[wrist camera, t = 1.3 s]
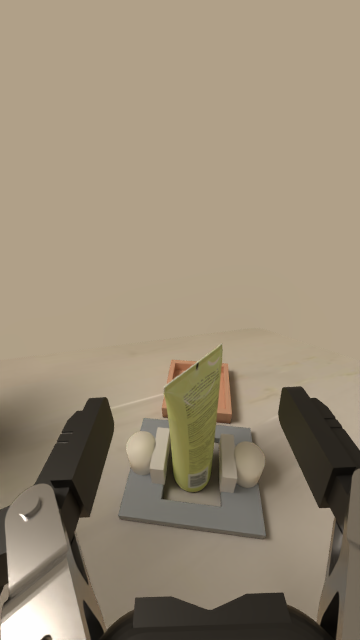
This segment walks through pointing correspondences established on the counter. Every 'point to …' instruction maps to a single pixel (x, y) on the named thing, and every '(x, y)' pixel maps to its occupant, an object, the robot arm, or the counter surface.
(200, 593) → the counter surface
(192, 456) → the tube
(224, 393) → the tray
